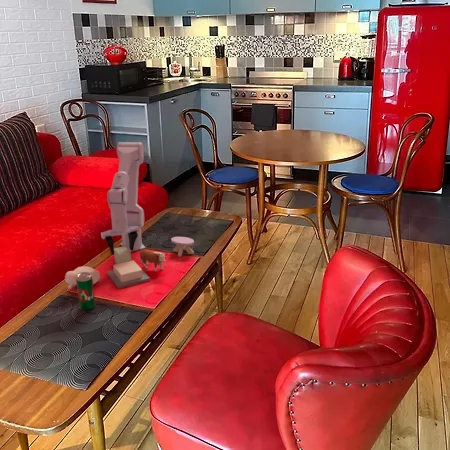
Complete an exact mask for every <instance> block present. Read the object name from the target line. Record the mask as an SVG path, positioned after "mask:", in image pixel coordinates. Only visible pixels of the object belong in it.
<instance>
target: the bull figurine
mask: <svg viewBox="0 0 450 450" xmlns="http://www.w3.org/2000/svg"><path fill="white" fill-rule="evenodd" d="M167 255H168V253H163V252H161V251H159V252H158V251H151V250H148V249H146V248H145V249H140V250H139V256H140V262H141V264H142V265H144V268H145V270H148V269H149V267H148V266H149V264H154V270H153V271H154V272H158V269H157V267H158V266H159V267H160V271H163V270H165V269H164V267H163V263H166V259H165V257H166V256H167Z"/></svg>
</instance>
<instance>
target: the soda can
mask: <svg viewBox="0 0 450 450" xmlns="http://www.w3.org/2000/svg"><path fill="white" fill-rule="evenodd" d="M76 283H77V285H76V289H77V299H78V305H79V308H80V310H82V311H90V310H92V309H94V308H95V306H96V300H95V299H96V298H95V291H94V284H93V280H92V276H91V274H90V273H88V272H82V273H79V274H78V275H77V278H76Z"/></svg>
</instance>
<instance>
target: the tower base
mask: <svg viewBox="0 0 450 450" xmlns="http://www.w3.org/2000/svg"><path fill="white" fill-rule="evenodd" d="M112 266H113V269H112V270H107V272H106V274H107V276H110V277H109V278H110V280H111V281H112V280H113V281H112V282H113V283H114V285H115V284H116V285H115V286H116V287H117V288H118V289H122V288H126V287H130V286H134V285H138V284H142V283H146V282H149V281H151V279H150V278H151V277H150V276H148V274H147V273H146V272H145V271H144V270H143V269H142V267H140V265H138V263H137V262H136V261H135V260H133V259H132V260H131V261H129V262H125V263H120V264H116V263H115V264H113V265H112ZM137 283H138V284H137ZM133 284H134V285H133ZM129 285H130V286H129ZM125 286H126V287H125Z"/></svg>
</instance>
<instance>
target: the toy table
mask: <svg viewBox="0 0 450 450" xmlns="http://www.w3.org/2000/svg"><path fill="white" fill-rule="evenodd" d="M170 239H171V240H170V241H171V243H172V244H175V245H176V246H175V247H174V248H173V249H172V251H173V252H176V253H177V257H181V256H183V251H186V252H187V254H189V255H194V254H195V251H194V250H193V249H192V248H191V247H190V246H193V245H195V241H194V239H193V238H191V237H185V236H174V237H172V238H170Z"/></svg>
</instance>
